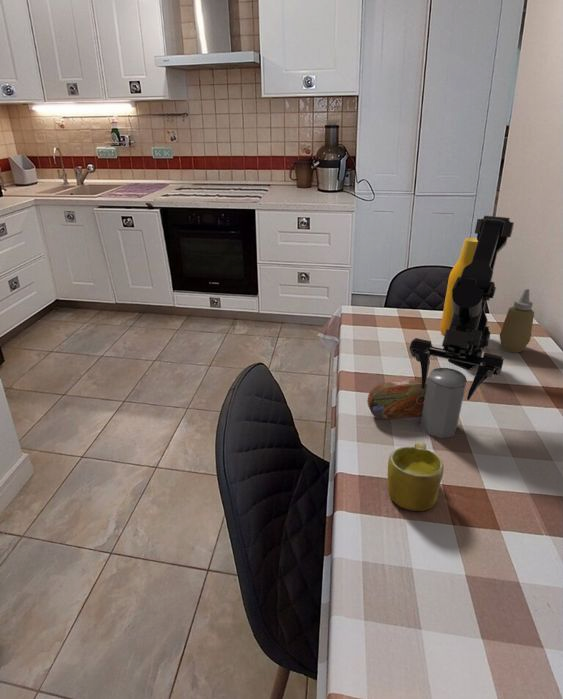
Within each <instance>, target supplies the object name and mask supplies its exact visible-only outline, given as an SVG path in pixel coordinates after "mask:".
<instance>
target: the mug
mask: <svg viewBox="0 0 563 699" xmlns="http://www.w3.org/2000/svg"><path fill="white" fill-rule="evenodd" d="M443 475H444V463H443V460H442V458H441V457H440V456H439V455H438V454H436V453H435V452H434V451H432V450H428V449H427V444H426V443H425V442H423V441H417V440H416V441H415V443H414V446H400V447H397V448H396V449H394V450H392V452H391V453H390V455H389V457H388V460H387V491H388V496H389V497H390V499H391V501H392V502H394V503H395V504H396V505H397V506H398V507H400V508H401V509H404V510H408V511H412V512H414V511H415V512H417V511H418V512H424V511H428V510H430V509H432V508H433V507H434V506H435V504H436V502H437V501H438V498H439V497H438V496H439V489H440V485H441V482H442V479H443Z"/></svg>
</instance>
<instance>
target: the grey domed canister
mask: <svg viewBox="0 0 563 699" xmlns="http://www.w3.org/2000/svg"><path fill="white" fill-rule="evenodd" d="M467 381H468V379H467V377H466V375H465V374H464V373H462V372H461V371H459V370H456V369H454V368H448V367H437V368H434V369H432V370H431V371H430V373H429V376H427V382H426V384H427V388H426V394H425V400H424V406H423V412H422V415H421V419H420V425H419V426H420V427H421V429H422V430H423V431H424V432H425V434H427V435H429V436H433V437H436V438H439V439H445V438H446V439H447V438H450V437H454V436H455V433H456V431H457V429H458V423H459V419H460V416H461V415H460V414H461V411H462V405H463V401H464V395H465V391H466V386H467Z"/></svg>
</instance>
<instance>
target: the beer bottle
mask: <svg viewBox="0 0 563 699" xmlns="http://www.w3.org/2000/svg"><path fill="white" fill-rule="evenodd" d="M477 243H478V240H477V237H466V238H465V239H464V240H463V244H462V247H461V252H460V254H459V258H458V260H457V261H456V263H455V264H454V266H453V267H452V269H451V271H450V273H449V276H448V282H447V288H446V294H445V298H444V305H443V311H442V316H441V322H440V327H439V328H440V330H439V331H440V333H441V334H442V335H443V337H444V336H445V332H446V329H449V326H450V322H451V319H452V315H453V304H452V289H453V287H454V284H455V282H456V280H457V278H458V277H461V275H462V272H463V269H464V267H466V266H467V265H469V264H470V263H471V262H472V259H473V256H474V253H475V250H476V246H477Z"/></svg>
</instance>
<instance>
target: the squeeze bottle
mask: <svg viewBox="0 0 563 699" xmlns="http://www.w3.org/2000/svg"><path fill="white" fill-rule="evenodd" d="M533 304H534V303H533V302H532V301H531V300H530V289H529V288H524V290H523V291H522V293H521V295H520V296H519V298H518V299H517V298H516V299H514V302H513V305H512V306H511V307H509V308H508V311H507V313H506V316H505V320H504V322H503V324H502V328H501V330H500V332H499V340H500V347H501V348H502V349H503V350H505V351H508V352H511V353H521V352H523V351H524V350H525V349H526V347H527V345H528V344H529V343H530V341H531V337H532V330H533V323H534V317H535V311H534V310H533V306H534V305H533Z"/></svg>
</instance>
